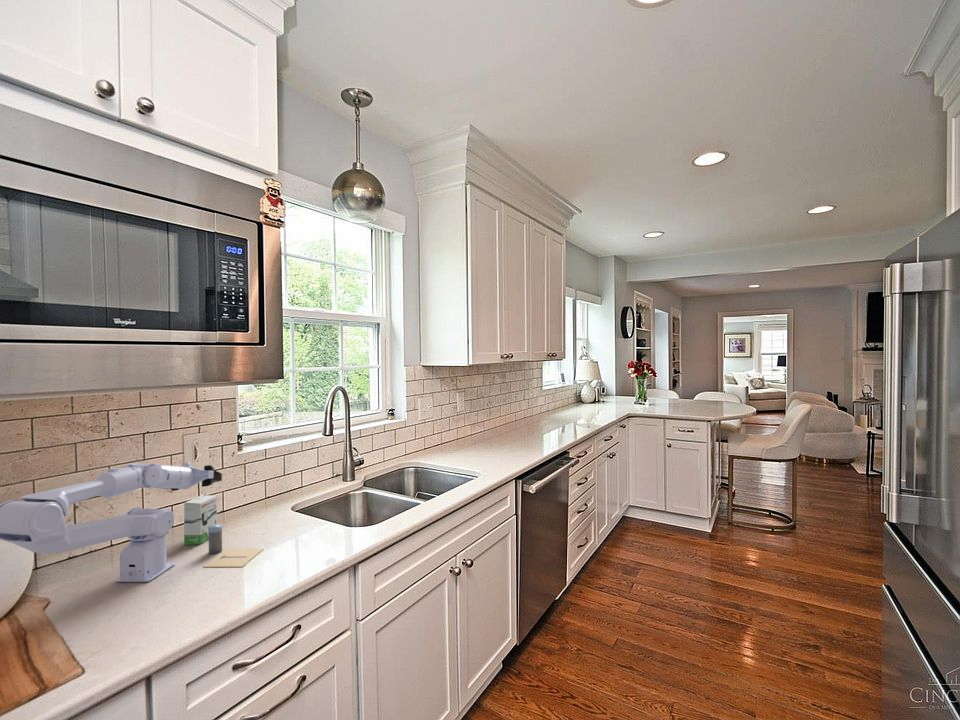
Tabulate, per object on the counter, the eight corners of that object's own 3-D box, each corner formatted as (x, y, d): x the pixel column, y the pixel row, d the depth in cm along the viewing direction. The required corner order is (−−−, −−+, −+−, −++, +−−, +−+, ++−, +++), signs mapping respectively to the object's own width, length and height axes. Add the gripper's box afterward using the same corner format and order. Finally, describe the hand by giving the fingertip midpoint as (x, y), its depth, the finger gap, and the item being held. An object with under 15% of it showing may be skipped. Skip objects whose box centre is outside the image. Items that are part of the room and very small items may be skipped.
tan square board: (242, 567, 117) (242, 566, 117) (203, 567, 117) (203, 566, 117) (263, 549, 128) (263, 548, 128) (227, 549, 128) (227, 548, 128)
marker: (217, 554, 125) (217, 528, 125) (205, 554, 125) (205, 528, 125) (224, 549, 128) (224, 523, 128) (213, 549, 128) (212, 524, 128)
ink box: (200, 545, 131) (199, 503, 131) (183, 545, 131) (182, 503, 131) (218, 533, 140) (217, 494, 140) (202, 533, 140) (201, 494, 140)
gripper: (197, 457, 122) (232, 461, 135) (148, 465, 124) (186, 468, 137) (195, 485, 120) (230, 486, 133) (145, 492, 122) (185, 492, 135)
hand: (208, 478), depth 135 cm, fingers open, 7 cm apart
